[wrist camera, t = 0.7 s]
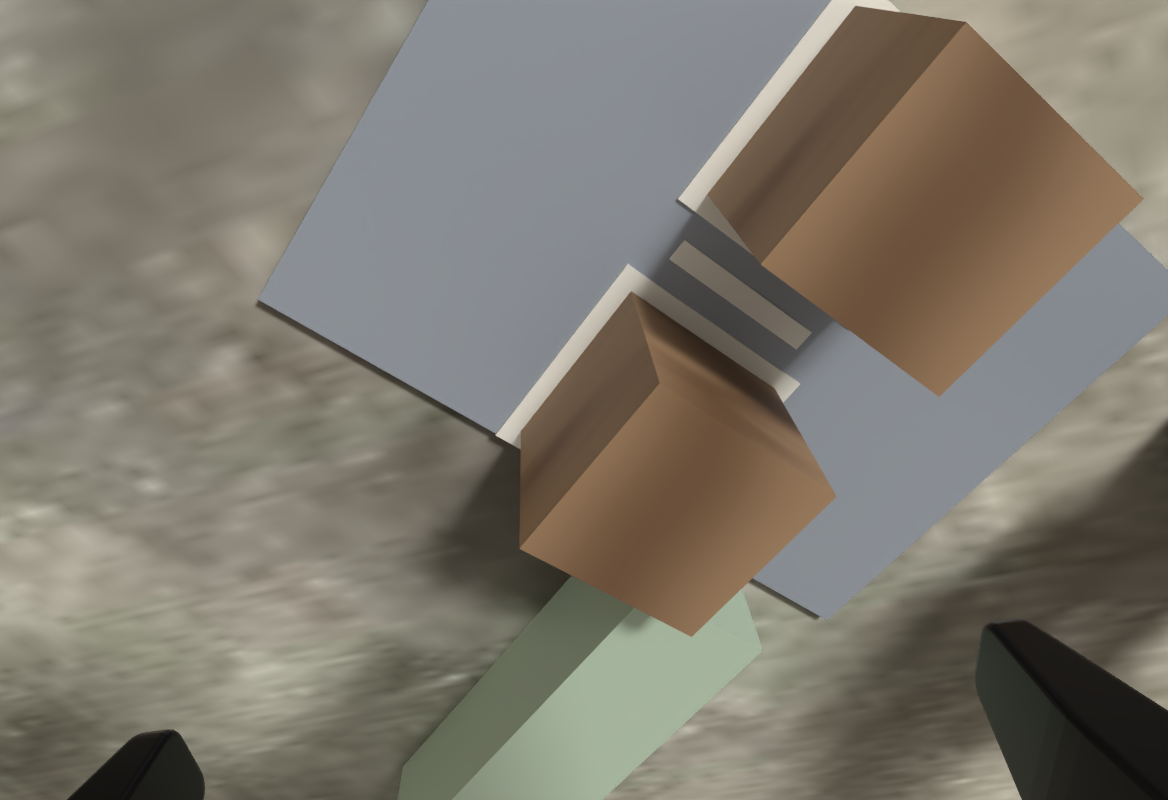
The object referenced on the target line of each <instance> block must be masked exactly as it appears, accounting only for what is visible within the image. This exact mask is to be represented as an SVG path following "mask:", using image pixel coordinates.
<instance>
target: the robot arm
mask: <svg viewBox="0 0 1168 800" xmlns="http://www.w3.org/2000/svg"><path fill="white" fill-rule="evenodd" d="M975 684H976V689H977V693H978V696H979V698H980V701H981V703H982V706H983V708H984V710H985V713H986V715H987V718H988V720H989V722H990V725H991V727H992V730H993V732H994V734H995V737H996V739H997V742H998V744H999V746H1000V749H1001V751H1002V753H1003V756H1004V758H1005V761H1006V763H1007V765H1008V768H1009V770H1010V773H1011V775H1012V777H1013V780H1014V782H1015V784H1016V787H1017V789H1018V792H1019V794H1020V796H1021V799H1022V800H1168V710H1166V709H1165V708H1163V707H1161V706H1160V705H1158V704H1157V703H1155V702H1154V701H1152V700H1151V699H1149V698H1147V697H1146V696H1144V695H1143V694H1141V693H1140V692H1138V691H1137V690H1135V689H1133V688H1132V687H1130V686H1129V685H1127V684H1126V683H1124V682H1122V681H1121V680H1119V679H1118V678H1116V677H1115V676H1113V675H1112V674H1110V673H1108V672H1107V671H1105V670H1104V669H1102V668H1101V667H1099V666H1098V665H1096V664H1094V663H1093V662H1091V661H1090V660H1088V659H1087V658H1085V657H1084V656H1082V655H1080V654H1079V653H1077V652H1076V651H1074V650H1073V649H1071V648H1070V647H1068V646H1066V645H1065V644H1063V643H1062V642H1060V641H1059V640H1057V639H1056V638H1054V637H1052V636H1051V635H1049V634H1048V633H1046V632H1045V631H1043V630H1042V629H1040V628H1038V627H1037V626H1035V625H1034V624H1032V623H1030V622H1028V621H1026V620H1023V619H1012V620H1004V621H997V622H990V623H988V624H986V625H985V626H984V628H983V629H982V632H981V637H980V644H979V650H978V656H977V662H976V669H975ZM204 794H205V784H204V778H203V774H202V772H201V770H200V768H199V766H198V765H197V763H196V761H195V759H194V758H193V756H192V754H191V752H190V750H189V749H188V747H187V745H186V743H185V742H184V740H183V738H182V736H181V735H180V734H179V733H178V732H176V731H174V730H169V729H168V730H161V731H153V732H145V733H141V734H138V735H136V736H134V737H133V738H131V739H130V740H129V741H128V742H127V743H126V744H125V745H124V746H123V747H121V748H120V749H119V750H118V751H117V752H116V753H115V754H114V755H113V756H112V757H111V758H110V759H109V760H108V761H107V762H106V763H105V764H104V765H103V766H101V767H100V768H99V769H98V770H97V771H96V772H95V773H94V774H93V775H92V776H91V777H90V778H89V779H88V780H87V781H86V782H85V783H84V784H83V785H81V786H80V787H79V788H78V789H77V790H76V791H75V792H74V793H73V794H72V795H71V796H70V797H69V798H68V799H67V800H204Z"/></svg>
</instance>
